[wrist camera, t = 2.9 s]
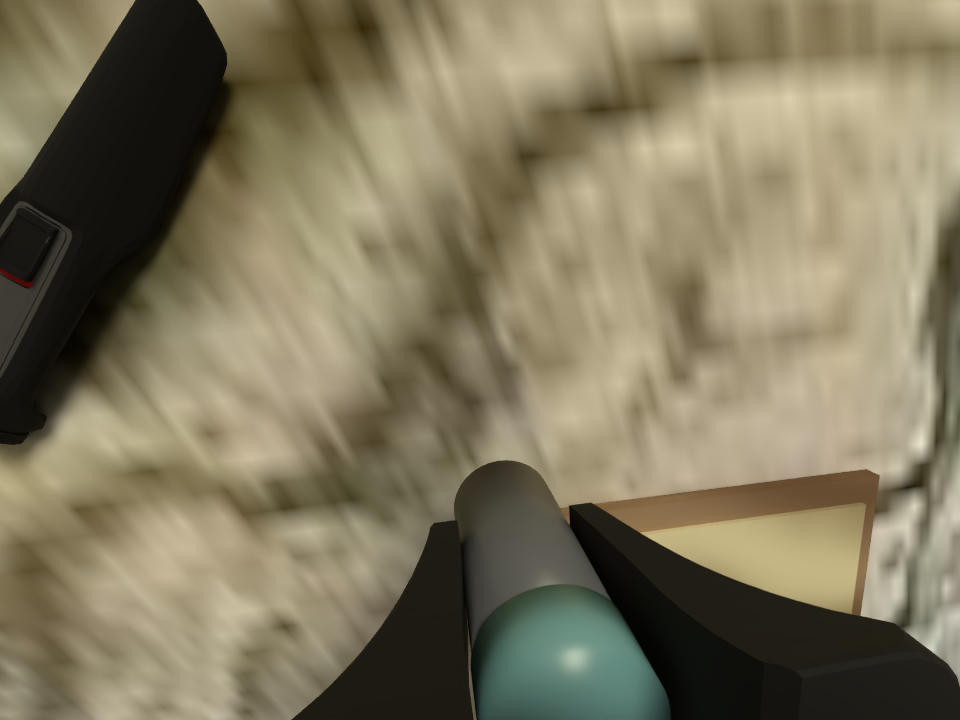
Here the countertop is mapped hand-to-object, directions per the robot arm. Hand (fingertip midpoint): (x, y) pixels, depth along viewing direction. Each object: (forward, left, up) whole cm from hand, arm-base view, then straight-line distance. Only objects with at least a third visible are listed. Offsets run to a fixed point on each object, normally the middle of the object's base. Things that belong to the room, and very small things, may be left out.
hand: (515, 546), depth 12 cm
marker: (0, 0, -2) cm, 2 cm away
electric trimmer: (+9, +13, -7) cm, 17 cm away
